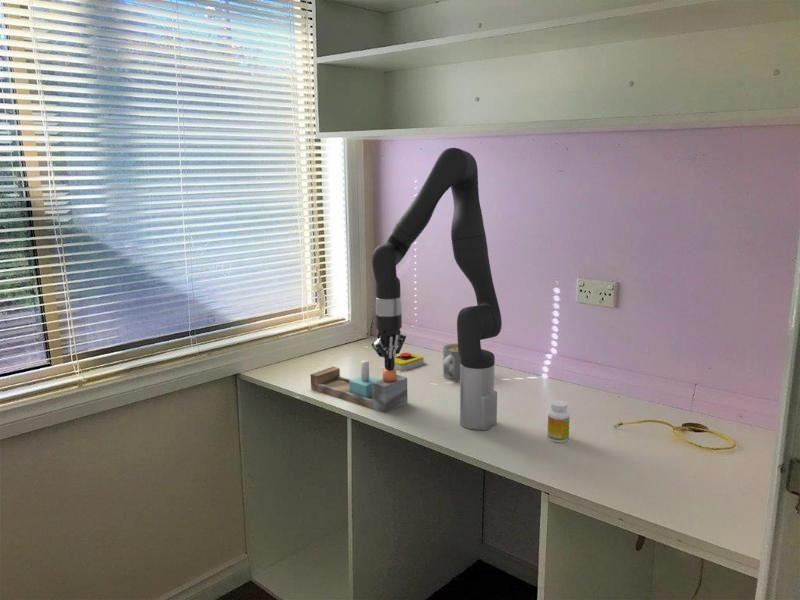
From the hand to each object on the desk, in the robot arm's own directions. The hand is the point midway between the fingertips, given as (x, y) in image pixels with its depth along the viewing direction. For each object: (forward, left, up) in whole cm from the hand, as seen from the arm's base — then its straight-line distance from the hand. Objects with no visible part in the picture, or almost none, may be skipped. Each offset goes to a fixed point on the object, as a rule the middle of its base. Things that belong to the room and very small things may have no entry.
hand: (389, 369), depth 193 cm
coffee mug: (0, -33, -12) cm, 35 cm away
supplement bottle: (-50, -10, -12) cm, 52 cm away
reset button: (0, 0, -3) cm, 3 cm away
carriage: (+10, 0, -10) cm, 14 cm away
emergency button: (+22, -32, -12) cm, 41 cm away
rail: (+14, 0, -11) cm, 18 cm away
